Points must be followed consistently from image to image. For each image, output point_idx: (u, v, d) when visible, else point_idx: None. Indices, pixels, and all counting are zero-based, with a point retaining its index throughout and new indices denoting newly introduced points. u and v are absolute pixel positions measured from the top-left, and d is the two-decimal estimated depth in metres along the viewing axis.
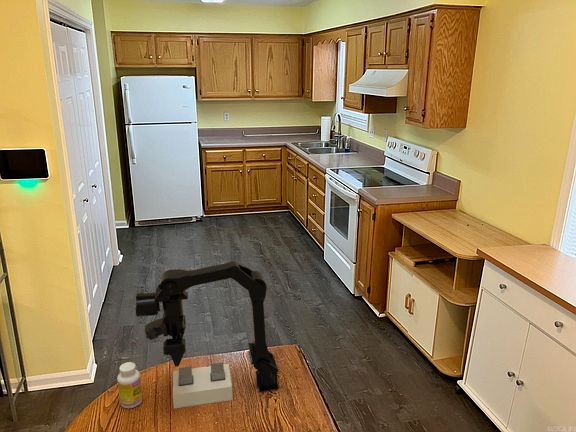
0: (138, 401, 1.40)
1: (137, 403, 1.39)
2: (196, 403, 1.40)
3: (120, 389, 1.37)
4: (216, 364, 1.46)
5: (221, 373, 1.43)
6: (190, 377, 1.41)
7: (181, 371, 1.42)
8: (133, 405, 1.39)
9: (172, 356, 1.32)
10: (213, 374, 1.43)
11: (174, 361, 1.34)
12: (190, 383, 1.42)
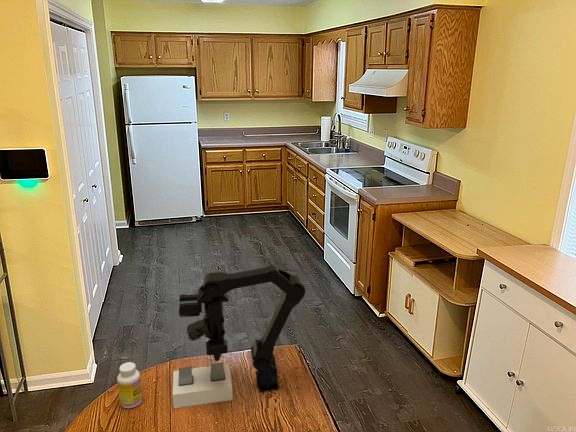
0: (138, 401, 1.40)
1: (137, 403, 1.39)
2: (196, 403, 1.40)
3: (120, 389, 1.37)
4: (216, 364, 1.46)
5: (221, 373, 1.43)
6: (190, 377, 1.41)
7: (181, 371, 1.42)
8: (133, 405, 1.39)
9: None
10: (213, 374, 1.43)
11: (215, 356, 1.41)
12: (190, 383, 1.42)
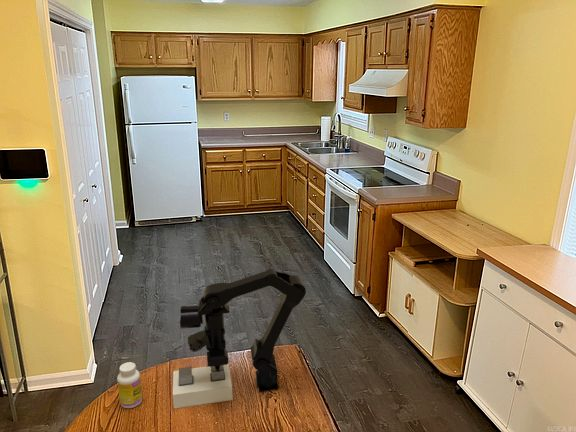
0: (138, 401, 1.40)
1: (137, 403, 1.39)
2: (196, 403, 1.40)
3: (120, 389, 1.37)
4: None
5: (221, 374, 1.44)
6: (190, 377, 1.41)
7: (181, 371, 1.42)
8: (133, 405, 1.39)
9: None
10: (213, 376, 1.43)
11: None
12: (190, 383, 1.42)
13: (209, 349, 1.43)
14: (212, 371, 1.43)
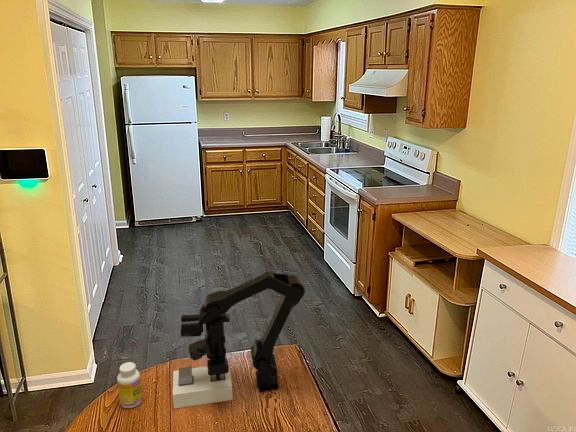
0: (138, 401, 1.40)
1: (137, 403, 1.39)
2: (196, 403, 1.40)
3: (120, 389, 1.37)
4: None
5: None
6: (190, 377, 1.41)
7: (181, 371, 1.42)
8: (133, 405, 1.39)
9: None
10: None
11: None
12: (190, 383, 1.42)
13: (209, 357, 1.44)
14: (212, 379, 1.44)
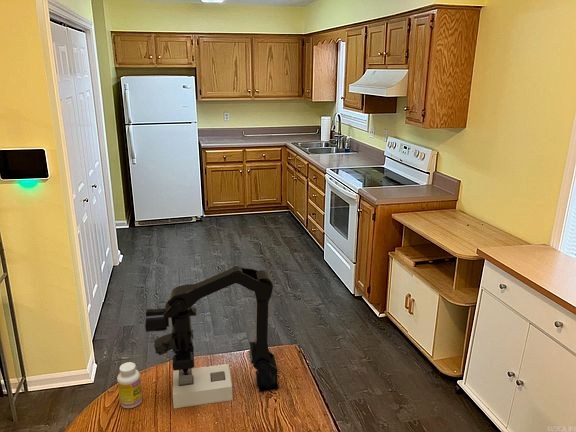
0: (138, 401, 1.40)
1: (137, 403, 1.39)
2: (196, 403, 1.40)
3: (120, 389, 1.37)
4: (217, 373, 1.47)
5: None
6: (190, 377, 1.41)
7: (181, 371, 1.42)
8: (133, 405, 1.39)
9: None
10: None
11: None
12: (190, 383, 1.42)
13: (176, 352, 1.41)
14: (212, 379, 1.44)
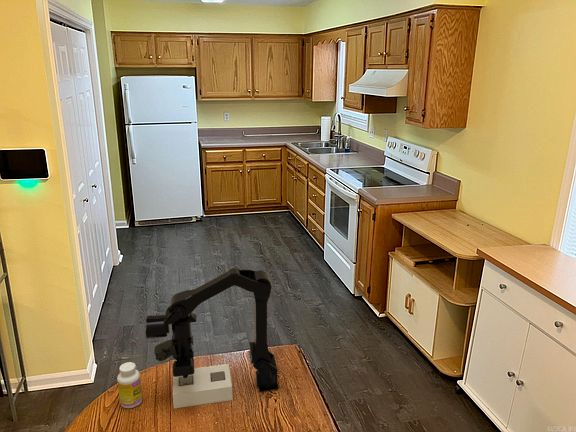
0: (138, 401, 1.40)
1: (137, 403, 1.39)
2: (196, 403, 1.40)
3: (120, 389, 1.37)
4: (217, 373, 1.47)
5: None
6: None
7: (182, 380, 1.43)
8: (133, 405, 1.39)
9: None
10: None
11: None
12: None
13: (177, 358, 1.42)
14: (212, 379, 1.44)
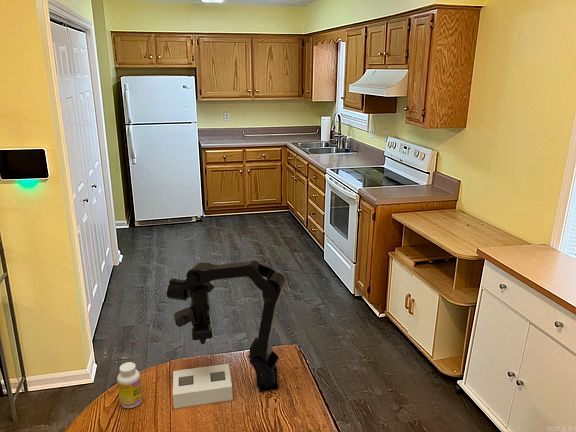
0: (138, 401, 1.40)
1: (137, 403, 1.39)
2: (196, 403, 1.40)
3: (120, 389, 1.37)
4: (217, 373, 1.47)
5: None
6: None
7: (182, 380, 1.43)
8: (133, 405, 1.39)
9: None
10: None
11: None
12: None
13: (195, 325, 1.50)
14: (212, 379, 1.44)
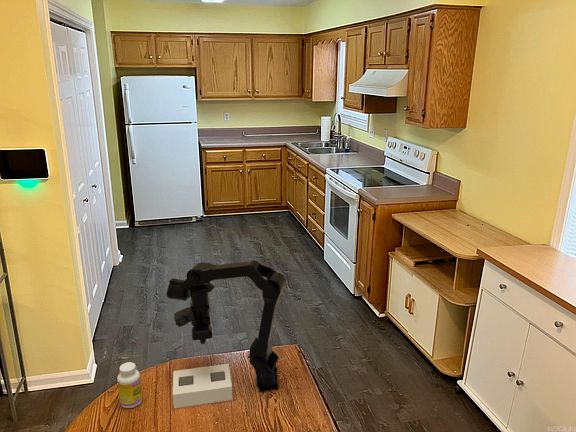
0: (138, 401, 1.40)
1: (137, 403, 1.39)
2: (196, 403, 1.40)
3: (120, 389, 1.37)
4: (217, 373, 1.47)
5: None
6: None
7: (182, 380, 1.43)
8: (133, 405, 1.39)
9: None
10: None
11: None
12: None
13: (195, 325, 1.50)
14: (212, 379, 1.44)
